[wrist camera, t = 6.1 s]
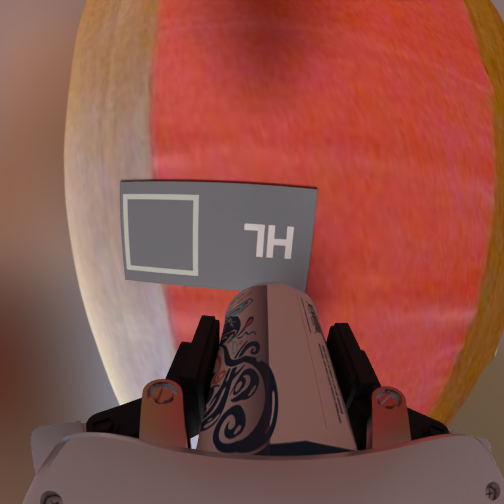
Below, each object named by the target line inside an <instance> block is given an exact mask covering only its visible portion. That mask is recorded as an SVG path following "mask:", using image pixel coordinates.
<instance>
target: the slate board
mask: <svg viewBox="0 0 504 504" xmlns="http://www.w3.org/2000/svg"><path fill="white" fill-rule="evenodd" d="M316 201H317V189H308V188H298V187H286V186H273V185H259V184H242V183H221V182H184V181H142V182H120V212H121V234H122V249H123V261H124V271H125V280H134V281H142V282H152V283H161V284H171V285H181V286H192V287H203V288H214V289H227V290H240V291H243V290H245V289H246V288H249V287H251V286H253V285H256V284H260V283H265V282H280V283H285V284H289V285H292V286H294V287H296V288H298V289H300V290H302V291H303V292H304V293H305V291H306V284H307V277H308V270H309V262H310V255H311V247H312V238H313V230H314V220H315V211H316Z"/></svg>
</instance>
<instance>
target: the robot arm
mask: <svg viewBox="0 0 504 504" xmlns="http://www.w3.org/2000/svg"><path fill="white" fill-rule="evenodd" d="M219 329H220V323H219V320H215V316H205V315H202V317H201V319H200V322H199V325H198V327H197V330H196V332H195V335H194V338H193V340H192V343H190V342H181V344H180V346H179V348H178V350H177V353H176V355H175V357H174V360H173V362H172V364H171V367H170V369H169V372H168V374H167V376H166V379H158V380H154V381H151V382H150V383H148V384H147V385H146V386H145V387H144V389H143V393H142V398H140V399H137V400H134V401H131V402H129V403H126V404H123V405H120V406H117V407H114V408H111V409H109V410H106V411H102V412H99V413H97V414H95V415H93V416H91V417H90V418H89V419H88V421H87V423H82V422H81V421H76V422H70V423H64V424H58V425H50V426H42V427H39V428H37V429H35V430H34V431H33V433H32V434H31V447H32V455H33V462H34V469H35V474H36V476H35V478H34V480H33V482H32V484H31V486H30V488H29V490H28V492H27V495H26V497H25V499H24V501H23V504H504V479H503V477H502V475H501V473H500V471H499V469H498V467H497V465H496V463H495V461H494V459H493V457H492V456H491V445H490V443H489V442H488V441H487V440H486V439H484V438H480V437H477V436H473V435H469V434H465V433H461V432H457V431H454V430H452V431H451V432H449V431H448V429H447V427H446V426H445V425H444V424H443V423H441V422H439V421H437V420H434V419H432V418H430V417H427V416H425V415H423V414H421V413H418V412H416V411H414V410H412V409H410V408H407V405H406V399H405V397H404V395H403V394H402V392H401V391H399V390H398V389H396V388H393V387H389V386H383V387H381V385H380V383H379V381H378V378H377V376H376V374H375V372H374V370H373V368H372V366H371V363H370V361H369V359H368V357H367V355H366V353H365V352H364V351H363V350H361V349H360V347H359V345H358V343H357V341H356V339H355V337H354V335H353V333H352V331H351V329H350V326H349V324H348V323H335V324H334V326H331V327H330V330H329V334H328V338H327V342H326V344H327V347H328V350H329V353H330V356H331V360H332V363H333V366H334V369H335V372H336V376H337V379H338V382H339V386H340V389H341V392H342V396H343V399H344V402H345V406H346V409H347V413H348V416H349V420H350V423H351V427H352V430H353V434H354V438H355V441H356V445H357V449H358V451H351V452H342V453H332V454H320V455H302V456H260V455H241V454H229V453H219V452H210V451H203V450H196V449H192V448H191V439H190V438H192V437H194V436H196V435H198V434H200V429H201V425H202V420H203V416H204V411H205V407H206V402H207V398H208V394H209V389H210V385H211V380H212V376H213V372H214V367H215V363H216V359H217V354H218V350H219V346H220V338H219Z"/></svg>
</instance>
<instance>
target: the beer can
mask: <svg viewBox="0 0 504 504" xmlns="http://www.w3.org/2000/svg"><path fill="white" fill-rule="evenodd" d="M196 450H203V451H210V452H219V453H229V454H241V455H260V456H302V455H320V454H332V453H342V452H351V451H358V449H357V445H356V441H355V438H354V434H353V430H352V427H351V423H350V420H349V416H348V413H347V409H346V406H345V402H344V399H343V396H342V392H341V389H340V386H339V382H338V379H337V376H336V372H335V369H334V366H333V363H332V360H331V356H330V353H329V350H328V347H327V344H326V341H325V338H324V334H323V331H322V328H321V325H320V322H319V318H318V312H317V309H316V307H315V305H314V303H313V301H312V300H311V299H310V297H309V296H308V295H307V294H305V293H304V292H303V291H302V290H300V289H298V288H296V287H294V286H292V285H289V284H285V283H280V282H265V283H260V284H256V285H253V286H251V287H249V288H246V289H245V290H243V291H242V292H241V293H239V294H238V295H237V296H236V297H235V298H234V299H233V300H232V302H231V303H230V304H229V306H228V308H227V311H226V315H225V324H224V328H223V333H222V337H221V341H220V346H219V350H218V354H217V359H216V363H215V367H214V372H213V376H212V380H211V385H210V389H209V394H208V398H207V402H206V407H205V411H204V416H203V420H202V425H201V429H200V434H199V438H198V443H197V448H196Z"/></svg>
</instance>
